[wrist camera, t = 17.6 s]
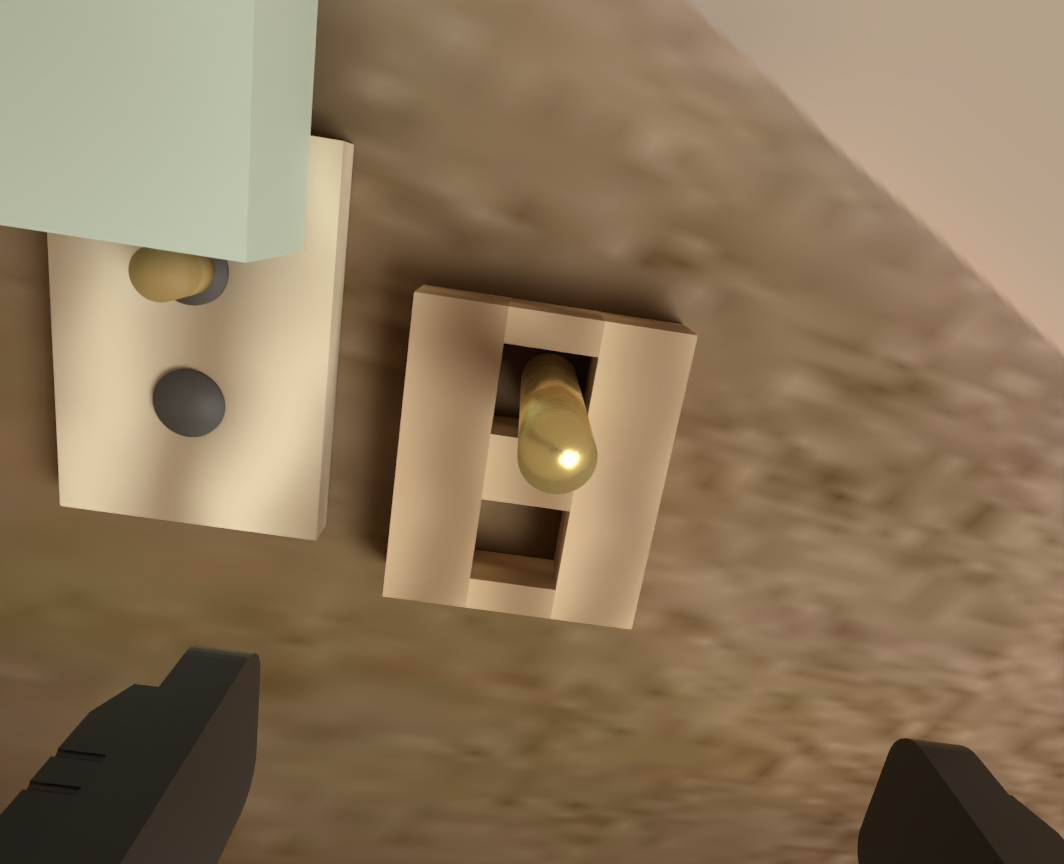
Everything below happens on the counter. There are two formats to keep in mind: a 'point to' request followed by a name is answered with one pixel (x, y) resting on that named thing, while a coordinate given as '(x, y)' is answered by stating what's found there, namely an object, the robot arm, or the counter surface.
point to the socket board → (492, 468)
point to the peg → (554, 427)
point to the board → (203, 372)
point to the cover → (159, 122)
